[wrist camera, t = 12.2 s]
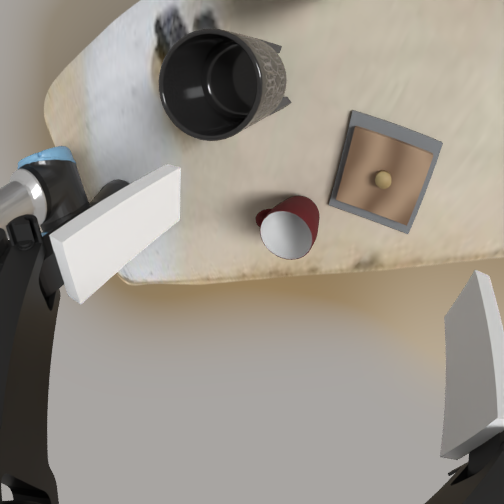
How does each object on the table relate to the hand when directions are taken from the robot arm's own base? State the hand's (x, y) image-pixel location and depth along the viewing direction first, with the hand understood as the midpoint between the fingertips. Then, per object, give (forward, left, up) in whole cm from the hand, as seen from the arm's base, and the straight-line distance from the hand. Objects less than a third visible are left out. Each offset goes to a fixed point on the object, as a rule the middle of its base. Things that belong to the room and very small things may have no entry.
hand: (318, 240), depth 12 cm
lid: (+4, -8, -36) cm, 37 cm away
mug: (-8, -19, -37) cm, 42 cm away
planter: (-17, +2, -37) cm, 41 cm away
